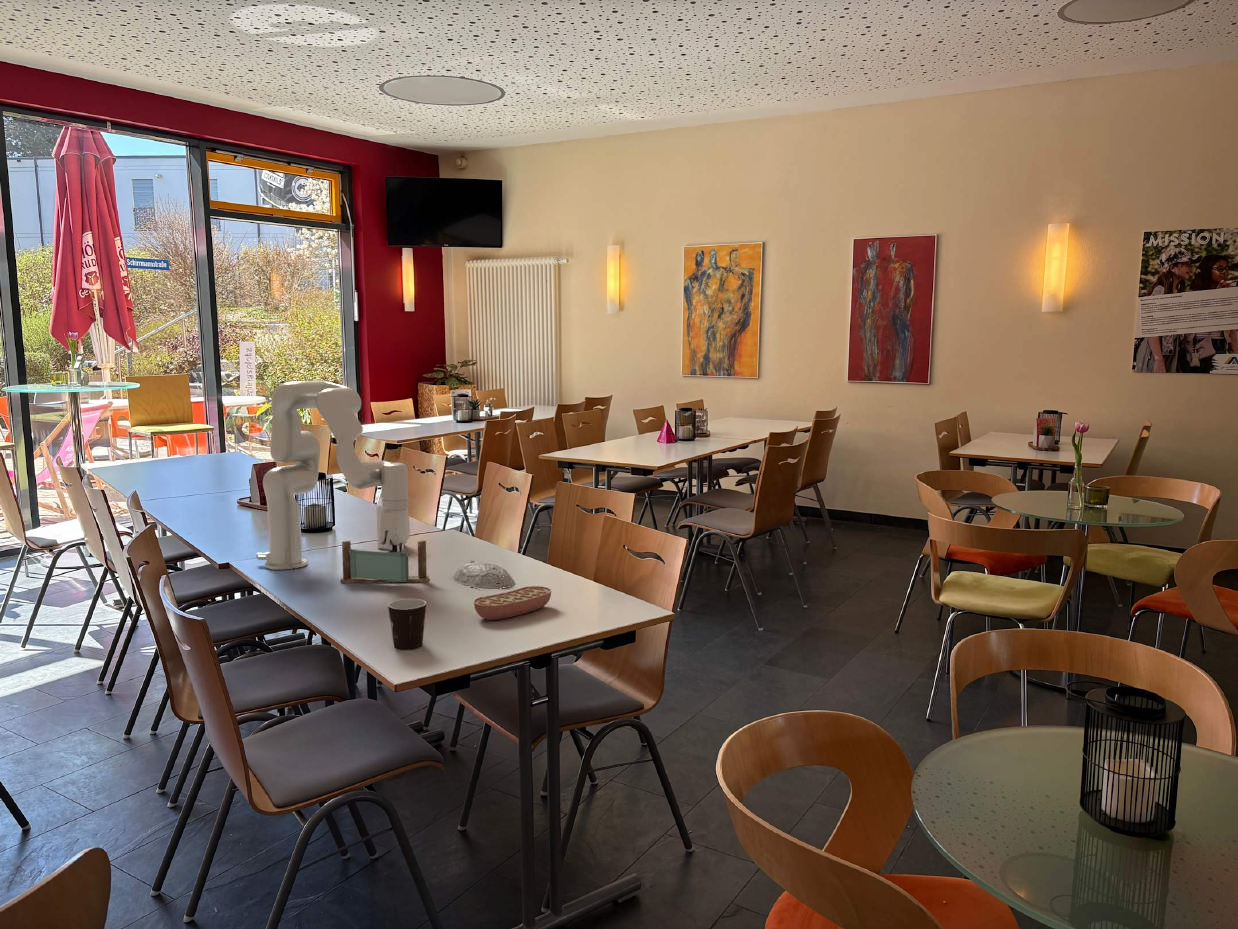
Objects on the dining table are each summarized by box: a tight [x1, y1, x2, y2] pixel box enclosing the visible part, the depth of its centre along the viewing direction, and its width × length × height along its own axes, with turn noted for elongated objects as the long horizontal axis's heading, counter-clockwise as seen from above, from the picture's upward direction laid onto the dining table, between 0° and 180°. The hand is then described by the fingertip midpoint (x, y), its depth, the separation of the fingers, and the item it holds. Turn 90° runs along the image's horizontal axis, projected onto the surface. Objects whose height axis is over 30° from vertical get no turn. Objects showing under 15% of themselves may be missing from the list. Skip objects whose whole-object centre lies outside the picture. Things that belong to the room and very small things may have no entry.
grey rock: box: [451, 560, 516, 590], centre depth 259 cm, size 16×25×7 cm, turn 45°
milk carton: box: [376, 492, 407, 550], centre depth 301 cm, size 7×7×19 cm
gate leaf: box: [349, 548, 410, 582], centre depth 253 cm, size 19×2×8 cm, turn 76°
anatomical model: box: [473, 585, 552, 621], centre depth 226 cm, size 23×10×5 cm, turn 135°
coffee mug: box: [387, 598, 427, 651], centre depth 199 cm, size 12×9×10 cm
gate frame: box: [340, 539, 430, 584], centre depth 257 cm, size 25×4×12 cm, turn 94°
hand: (396, 566), depth 256 cm, fingers closed
